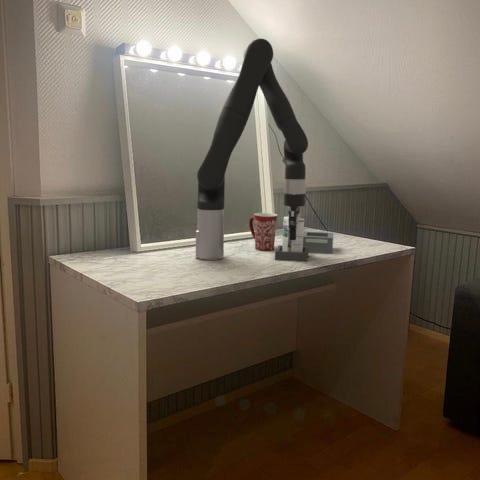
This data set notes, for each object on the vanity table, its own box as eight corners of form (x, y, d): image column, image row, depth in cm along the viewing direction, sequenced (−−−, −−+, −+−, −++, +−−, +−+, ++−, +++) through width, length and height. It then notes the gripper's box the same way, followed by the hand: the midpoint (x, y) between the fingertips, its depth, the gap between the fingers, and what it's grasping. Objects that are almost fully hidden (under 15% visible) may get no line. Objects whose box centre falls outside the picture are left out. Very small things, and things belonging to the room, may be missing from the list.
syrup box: (281, 256, 178) (282, 216, 175) (295, 255, 180) (297, 215, 177) (288, 259, 173) (289, 218, 170) (303, 258, 175) (304, 218, 172)
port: (299, 252, 185) (300, 236, 184) (302, 246, 197) (302, 231, 196) (332, 254, 183) (333, 238, 182) (332, 247, 195) (333, 232, 194)
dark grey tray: (274, 259, 172) (275, 251, 171) (278, 253, 182) (278, 245, 182) (306, 261, 170) (306, 253, 169) (308, 255, 180) (308, 247, 180)
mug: (281, 249, 190) (282, 214, 187) (264, 252, 184) (265, 216, 181) (258, 244, 199) (259, 211, 196) (242, 247, 193) (242, 212, 190)
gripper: (286, 190, 179) (285, 234, 182) (281, 193, 166) (280, 241, 169) (307, 190, 178) (305, 234, 181) (304, 194, 164) (302, 242, 167)
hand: (293, 237), depth 175 cm, fingers open, 8 cm apart
